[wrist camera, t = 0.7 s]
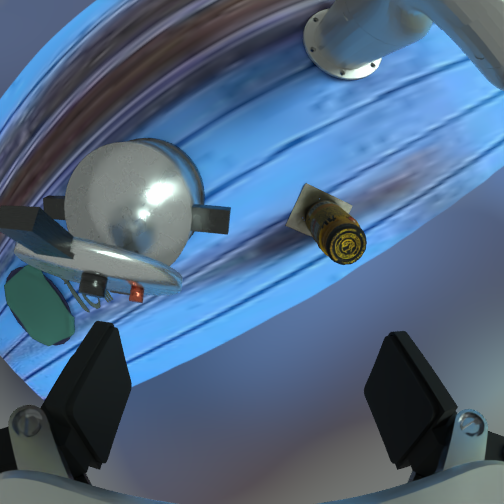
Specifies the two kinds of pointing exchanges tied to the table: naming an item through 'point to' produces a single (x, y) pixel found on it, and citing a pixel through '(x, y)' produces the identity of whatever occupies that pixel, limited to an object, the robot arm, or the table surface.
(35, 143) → the table surface
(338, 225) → the condiment
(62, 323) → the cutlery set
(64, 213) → the cooker body
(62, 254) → the cooker lid
